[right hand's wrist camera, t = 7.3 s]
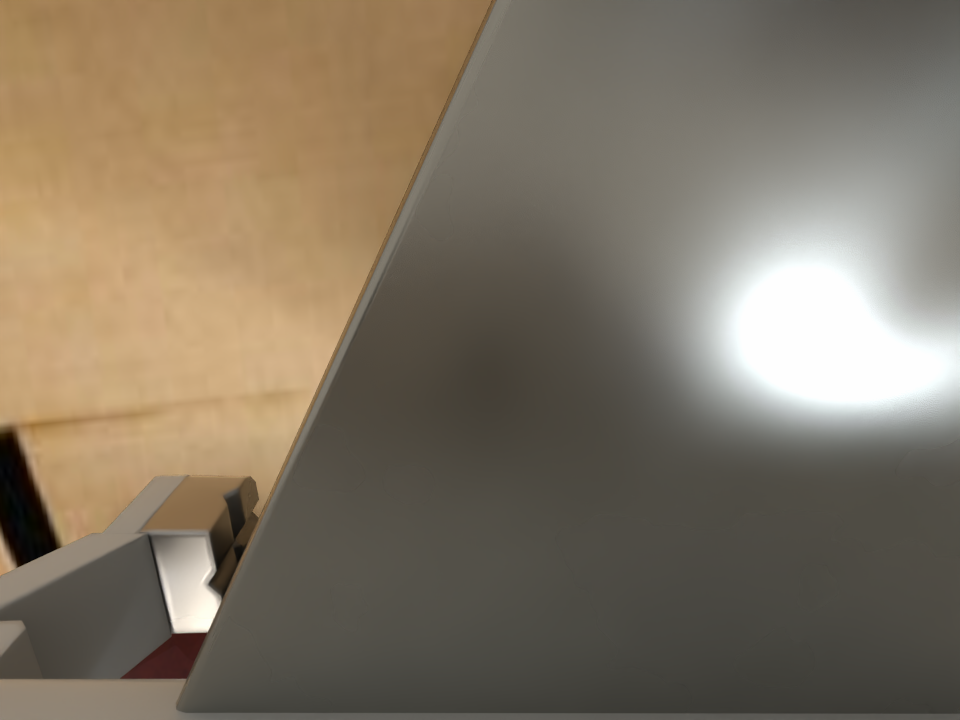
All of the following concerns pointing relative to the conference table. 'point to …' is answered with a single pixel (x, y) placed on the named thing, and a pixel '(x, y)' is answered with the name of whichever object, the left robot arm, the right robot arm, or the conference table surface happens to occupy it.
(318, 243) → the conference table surface
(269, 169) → the conference table surface
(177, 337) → the conference table surface
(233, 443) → the conference table surface
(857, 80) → the box
